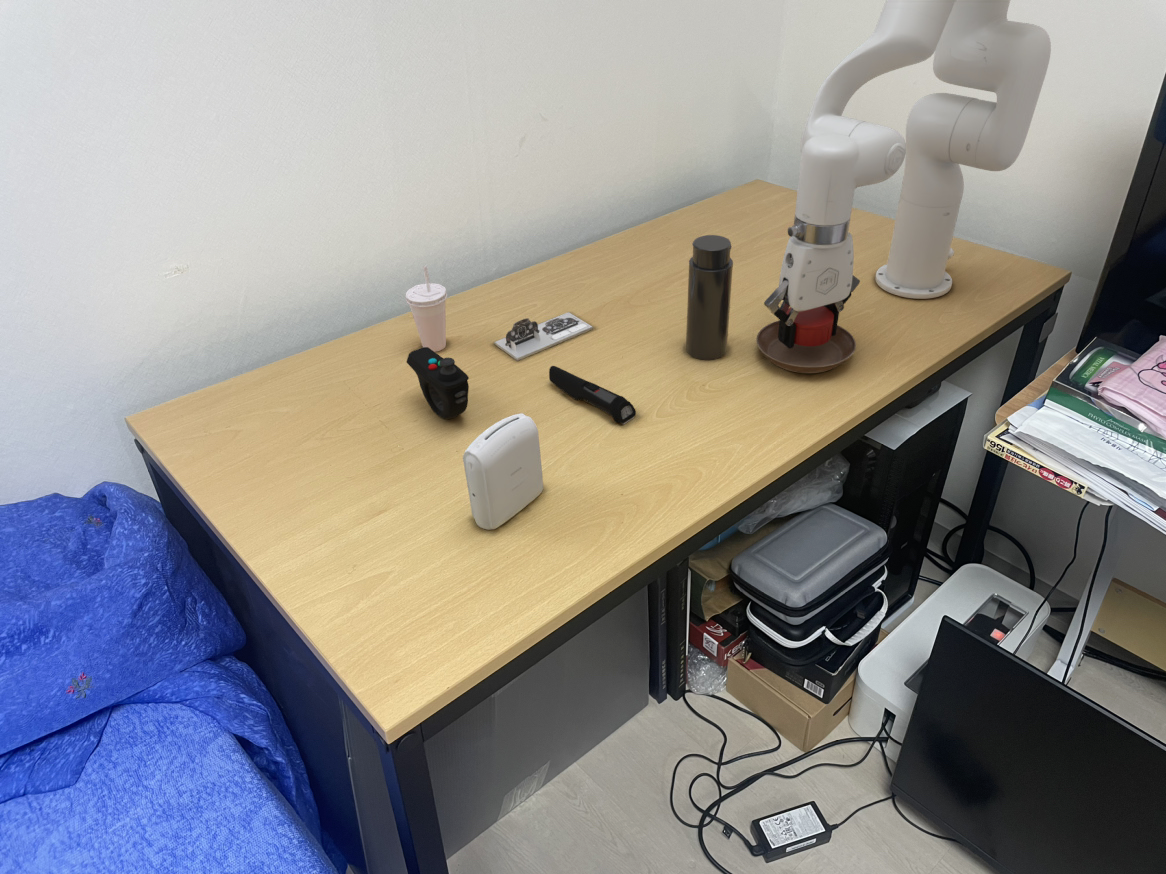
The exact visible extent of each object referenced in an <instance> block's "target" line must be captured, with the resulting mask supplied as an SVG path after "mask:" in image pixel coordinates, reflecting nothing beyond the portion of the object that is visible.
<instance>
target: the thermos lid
mask: <svg viewBox="0 0 1166 874" xmlns="http://www.w3.org/2000/svg"><path fill="white" fill-rule="evenodd" d="M790 310H791V307H789V309H788V311H787V313H786V314H787V315H788V314H789V312H790ZM833 321H834V315H833V313H832V311H831V310H830V309H828V308H826V307H824V306H821V307H817V308H814V309H810V310H806V311H801V312H799V313H798V315H797V317H796V318H795V320H794V322H793V323H794V324H795V325H796V333H795V341H794V344H797V345H801V346H819V345H823V344H825V343H827V342H828V341H829V340H830V338H831V335H832V328H833Z"/></svg>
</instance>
